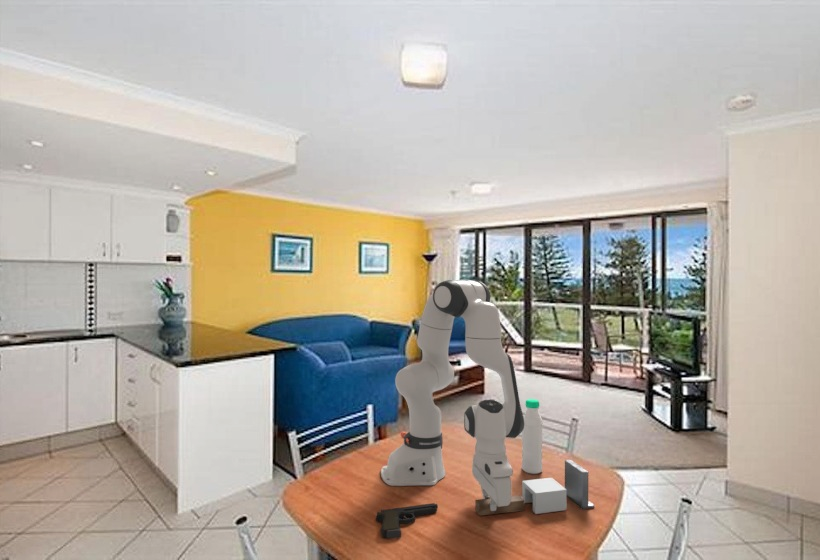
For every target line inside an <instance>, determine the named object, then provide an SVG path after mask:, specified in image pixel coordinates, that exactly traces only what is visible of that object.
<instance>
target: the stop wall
mask: <svg viewBox="0 0 820 560" xmlns="http://www.w3.org/2000/svg"><path fill="white" fill-rule="evenodd" d="M564 488H565V489H566V490H567V494H566V498H568V499H569V500H570V501H571V502H573V504H575V505H576V506H577V507H579V508H580V509H581V510H582V511H583V510H588V509H590V510H591V509H594V508H595V504H593V502H591V501H589V471H588V470H587V469H585V468H583V466H581V465H579V464H578V463H576V461H575V462H574V461H573V460H572V459H565V460H564Z"/></svg>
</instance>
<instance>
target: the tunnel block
mask: <svg viewBox="0 0 820 560" xmlns="http://www.w3.org/2000/svg"><path fill="white" fill-rule="evenodd" d="M521 487H522V488H521V490H522V491H521V493H522V494H521V498H522V499H523V500H524V504H528V503H532V512H533V513H534V514H535V515H538V514H547V513H553V512H561V511H566V510H567V496H566V494H567V490H566V489H565V486H563V485H561V484H560V483H559V482H558V481H556V480H555V479H554V478H553V477H544V478H543V477H542V478H536V479H535V478H534V479H527V480H522V485H521Z"/></svg>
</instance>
